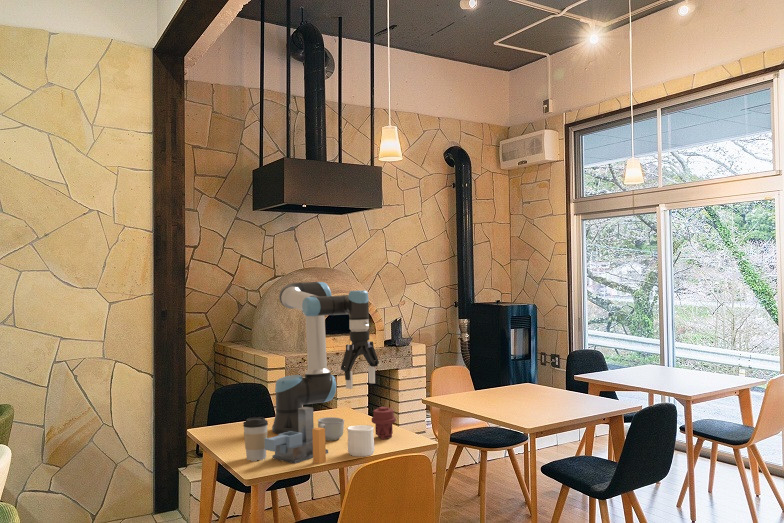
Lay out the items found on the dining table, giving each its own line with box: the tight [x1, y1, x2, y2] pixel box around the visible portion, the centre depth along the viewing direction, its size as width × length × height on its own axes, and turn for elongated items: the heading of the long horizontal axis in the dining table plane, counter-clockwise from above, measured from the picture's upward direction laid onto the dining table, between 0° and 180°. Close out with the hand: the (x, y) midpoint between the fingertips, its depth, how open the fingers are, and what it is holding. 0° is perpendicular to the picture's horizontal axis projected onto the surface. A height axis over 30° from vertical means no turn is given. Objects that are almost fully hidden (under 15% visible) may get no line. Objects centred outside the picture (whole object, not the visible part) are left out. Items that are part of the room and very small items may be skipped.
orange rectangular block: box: [312, 426, 327, 465], centre depth 230 cm, size 3×3×12 cm
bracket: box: [265, 431, 302, 454], centre depth 232 cm, size 6×13×6 cm, turn 141°
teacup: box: [317, 416, 345, 442], centre depth 262 cm, size 14×11×8 cm
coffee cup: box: [242, 416, 269, 462], centre depth 237 cm, size 9×9×15 cm
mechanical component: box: [371, 406, 397, 440], centre depth 263 cm, size 12×10×10 cm
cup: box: [346, 424, 375, 457], centre depth 240 cm, size 10×10×10 cm
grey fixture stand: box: [272, 406, 329, 465], centre depth 239 cm, size 12×17×17 cm
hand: (360, 385), depth 246 cm, fingers open, 13 cm apart
